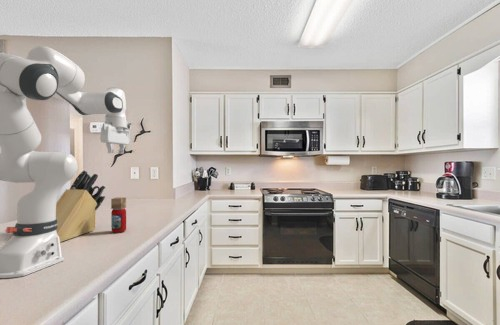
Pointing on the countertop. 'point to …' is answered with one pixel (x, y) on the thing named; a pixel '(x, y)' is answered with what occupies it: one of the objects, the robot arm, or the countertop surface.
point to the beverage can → (118, 220)
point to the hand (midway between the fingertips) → (116, 153)
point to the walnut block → (118, 203)
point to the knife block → (78, 207)
